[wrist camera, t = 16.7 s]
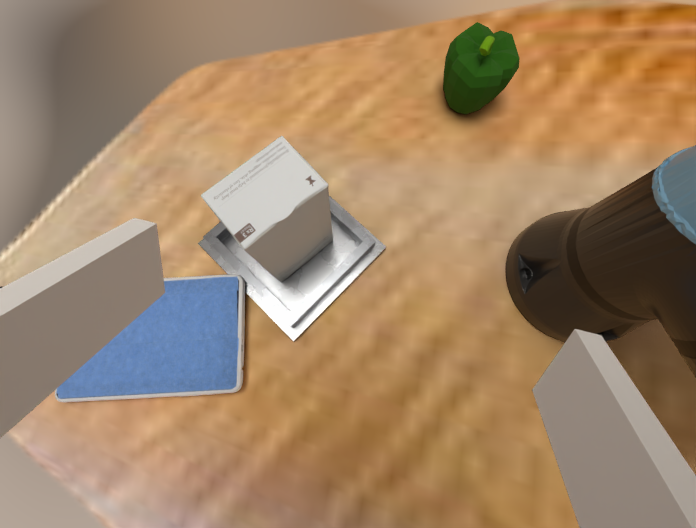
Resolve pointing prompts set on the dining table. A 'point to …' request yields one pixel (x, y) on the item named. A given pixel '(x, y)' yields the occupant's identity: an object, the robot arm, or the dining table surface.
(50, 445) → the dining table surface
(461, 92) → the bell pepper
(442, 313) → the dining table surface
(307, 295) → the square metal tray
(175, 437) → the dining table surface
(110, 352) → the tablet computer
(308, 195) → the skincare box
